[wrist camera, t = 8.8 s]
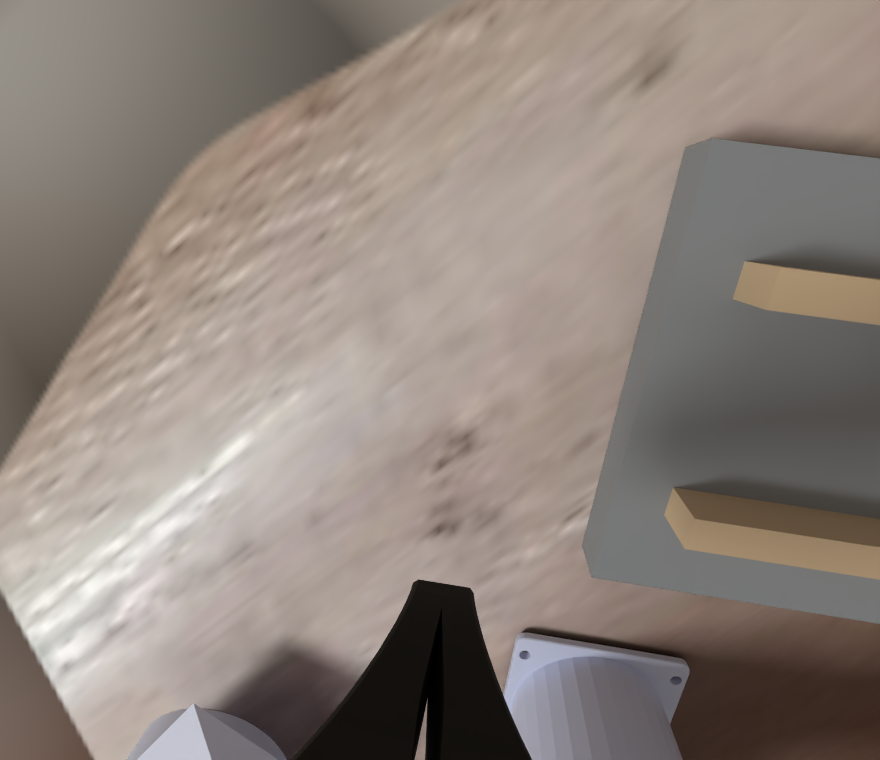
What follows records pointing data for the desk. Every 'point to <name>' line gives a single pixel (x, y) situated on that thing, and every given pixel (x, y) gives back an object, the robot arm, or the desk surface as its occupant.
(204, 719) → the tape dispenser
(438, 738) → the robot arm
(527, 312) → the desk surface
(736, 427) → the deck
